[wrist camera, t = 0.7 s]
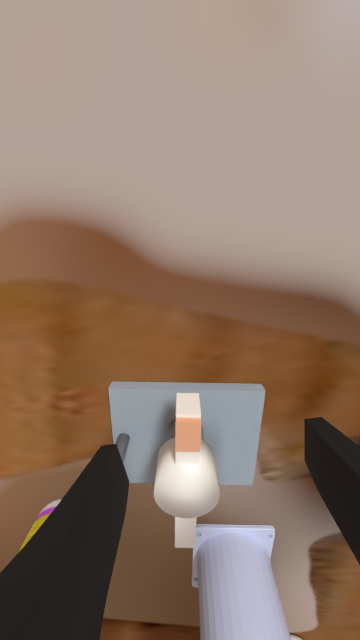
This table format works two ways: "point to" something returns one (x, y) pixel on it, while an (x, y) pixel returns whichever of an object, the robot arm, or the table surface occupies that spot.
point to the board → (215, 414)
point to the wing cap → (186, 472)
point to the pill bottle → (295, 637)
